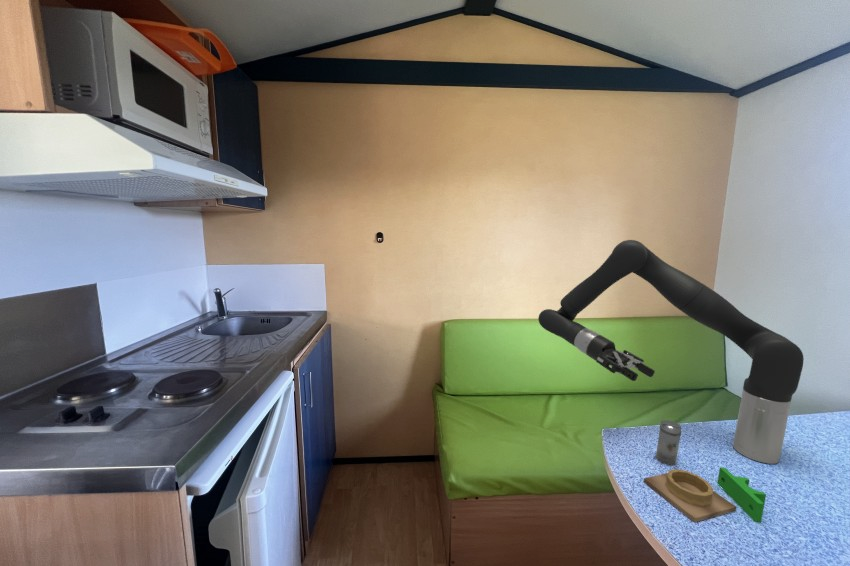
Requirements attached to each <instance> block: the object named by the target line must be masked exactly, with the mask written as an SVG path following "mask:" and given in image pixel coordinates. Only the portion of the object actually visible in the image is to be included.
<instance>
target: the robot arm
mask: <svg viewBox="0 0 850 566" xmlns="http://www.w3.org/2000/svg"><path fill="white" fill-rule="evenodd" d="M630 274H635V275H636V276H638V277H639V278H642V280H645V281H646V282H648V284H650V285H651V286H652V287H653V288H654V289H656V291H657V292H658V293H659V294H661V296H662V297H663V298H664V299H666V300H667V301H668V302H669V303H670V304H672V305H673V306H674V307H675V309H677V310H679V311H681V312H682V313H684V314H685V315H687V316H688V317H690V318H691V319H692V320H695V321H696V322H697V323H700V324H701V325H703V326H705V327H707V328H709V329H712V330H714V331H715V332H718V333H719V334H721V335H723V336H724V337H726V338H727V339H729V340H730V341H731V342H733V343H734V344H735V345H736V346H737V347H739V348H740V349H741V350H742V351H743V352H744V353H746V354H747V355H748V357H750V359H751V367H750V370H749V375H748V377H747V378H745V379H744V381H743V387H742V393H741V399H740V404H739V410H738V415H737V420H736V427H735V432H734V438H733V442H732V443H733V444H732V447H733V448H734V450H735V451H736V452H737V453H739V454H741V455H742V456H744V457H746V458H748V459H750V460H753V461H756V462H760V463H764V464H769V465H772V464H773V465H774V464H778V463H779V462H780V458H781V455H782V451H783V450H782V449H783V445H784V440H785V435H786V429H787V425H788V418H789V412H790V408H791V403H792V400H793V399H792V397H793V395H794V394H795V393H796V392H797V389H798V387H799V383H800V379H801V376H802V372H803V366H804V353H803V351H802V349H801V348H800V347H799V346H798V344H796V343H794V342H793V341H791V340H790V339H789V338H787V337H786V336H784V335H782V334H779V333H777V332H775V331H773V330H771V329H769V328H767V327H765V326H764V325H762V324H759V323H758V322H756V321H754V320H753V319H751V318H750V317H748V316H746V314H744V313H742V312H741V311H740V310H739V309H737V308H736V306H734V305H733V304H732V303H731V302H729V300H727V299H725V298H724V297H723V296H722V295H720V294H719V293H718V292H716V291H715V290H713V289H712V288H710V287H708V286H707V285H706V284H705V283H703V282H700V281H699V280H698V279H696V278H694V277H693V276H691V275H688V274H687V273H685V272H683V271H682V270H679V269H677V268H675V267H673V266H672V265H670V264H669V263H667V262H665V261H664V260H663V259H661V258H660V257H659V256H658V255H656V254H655V253H654V252H653V251H651V250H650V249H649V248H648V247H646V245H644V244H643V243H642V242H640V241H638V240H636V239H627V240H623V241H621V242H620V243H618V244H617V245H616V246H615V247H614V248H613V250H612V252H611V253H610V254H609V256H608V257H607V258H606V259H605V260H604V262H603V263H602V264H601V265H600V266H599V267H598V268H597V269H596V270H595V271H594V272H593V273H592V274H591V275H590V276H588V277H587V278H585V279H584V280H582V281H581V282H580V283H579V284H577V285H575V287H573V289H571V290H570V291H569V292H568V293H567V294H566V295H565V296H563V297H562V299H560V302H559V303H560V308H559V309H557V310H554V309H551V308H549V309H547V308H546V309H543V310H542V311H541V312H540V313H539V315H538V323H539V325H540V327H541V328H543V329H544V330H545V331H548V332H549V333H551V334H553V335H555V336H557V337H560V338H562V339H563V340H564V341H566V342H568V344H571V345H572V346H574V347H575V348H576V349H578V350H579V351H580V352H581V353H583V354H584V355H586V356H588V357H589V358H591V359H593V360H594V361H595V362H596V363H597V364H599V365H600V366H602V367H603V368H605V369H606V370H607V371H609V372H610V373H613V374H616V373H617V374H618V375H621V374H622V375H623V376H624V377H625V378H628V379H629V380H631V381H632V382H635V381H636V380H637V379H638V377H639V374H638V373H637V372H635V371H634V370H638V371H639V372H640V373H642V374H643V375H645V376H647V377H649V378H653V377H654V375H655V373H656V371H655V369H653V368H651V367H650V366H647V365H646V364H644V361H645V360H644V359H643V358H641V357H639V356H637V355H635V354H634V353H632V352H629V351H628V350H626V349H624V350H623V351H621V350H617V349H616V344H615V342H614V341H612V340H610V339H609V338H606V337H605V336H604V335H601V334H600V333H598V332H596V331H594V330H592V329H589V328H588V327H586V326H584V325H582V324H581V323H578V322H576V321H574V320H575V319H576V318H577V315H578V314H580V313H581V312H582V311H583V310H585V309H586V308H587V307H588V306H590V305H591V304H592V303H593V302H595V300H596V299H597V298H599V297H600V296H601V295H603V293H604V292H605V291H607V290H608V289H609V288H610V287H611V286H613V285H614V284H615V283H617V282H618V281H620V280H622V279H623V278H625V277H627V276H629V275H630ZM631 368H632V369H634V370H632V369H631Z"/></svg>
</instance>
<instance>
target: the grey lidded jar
mask: <svg viewBox="0 0 850 566" xmlns="http://www.w3.org/2000/svg"><path fill="white" fill-rule="evenodd" d="M658 429H659V431H658V432H659V433H658V438H657V444H656V445H657V446H656V452H655V453H656V454H655V458H656V460H657V461H659V462H660V463H661V464H663V465H666V466H671V467H674V466H675V465H677V460H678V453H679V446H680V440H681V439H680V438H681V435H682V426H681V425H680V424H678V423H677V422H674V421H672V420H669V419H668V420H667V419H663V420H661V421H660V424H659V427H658Z"/></svg>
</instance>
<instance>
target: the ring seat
mask: <svg viewBox="0 0 850 566" xmlns="http://www.w3.org/2000/svg"><path fill="white" fill-rule="evenodd" d="M643 483H645V485H647V486H648V487H649V488H650V489H652V490H653V491H654V492H656V494H658V495H659V496H661V498H663V499H664V500H666V501H667V502H668V503H669V504H671V505H672V506H673V507H674V508H675V509H676V510H678V511H680V512H681V514H683V515H684V516H685V517H687V518H688V519H689V520H690V521H691V522H693V523H698V522H701V521H704V520H705V521H706V520H709V519H711V518H716V517H719V516H722V515H725V514H729V512H730V513H732V512H736V511H737V505H735V504H733V503H732V502H730V501H729V500H728V499H726V498H724V497H723V496H722V495H720V494H718V493H717V492H715V491H714V488H713V486H712V485H711V484H710V483H709V481H707V480H705V479H704V478H703V477H701V476H700V475H698V474H696V473H693V472H690V471H689V470H684V469H678V468H675V469H669V470H668V472H666V473H662V474H656V475H652V476H648V477H644V479H643Z"/></svg>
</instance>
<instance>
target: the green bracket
mask: <svg viewBox="0 0 850 566" xmlns="http://www.w3.org/2000/svg"><path fill="white" fill-rule="evenodd" d="M717 477H718V478H717V481H716V482H717V483H718V484H719V485H720V486H721V487H722V488H723V489H722V488H721V487H720V486H719V485H718V484H717V483H716V484H717V485H718V486H719V487H720V488H721V489H722V491H724V492H725V494H726V495H728V496H729V497H730V498H731V500H733V501H734V502H735V503H736V504H737V505H738V506H739V507H740V509H742V510H743V512H744V513H745V514H746V515H747V516H748V517H750V519H751V520H753V522H755V523H762V518H763V513H764V510H765V503H766V498H767V494H766V493H765V492H764V491H760V490H757V489H754V488H752V487H751V486H749V485H750V479H749V478H748V477H743V476H734V475H733V474H732V472H730V471H729V470H728V469H727V468H726V467H722V466H721V467H719V471H718V476H717Z"/></svg>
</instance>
